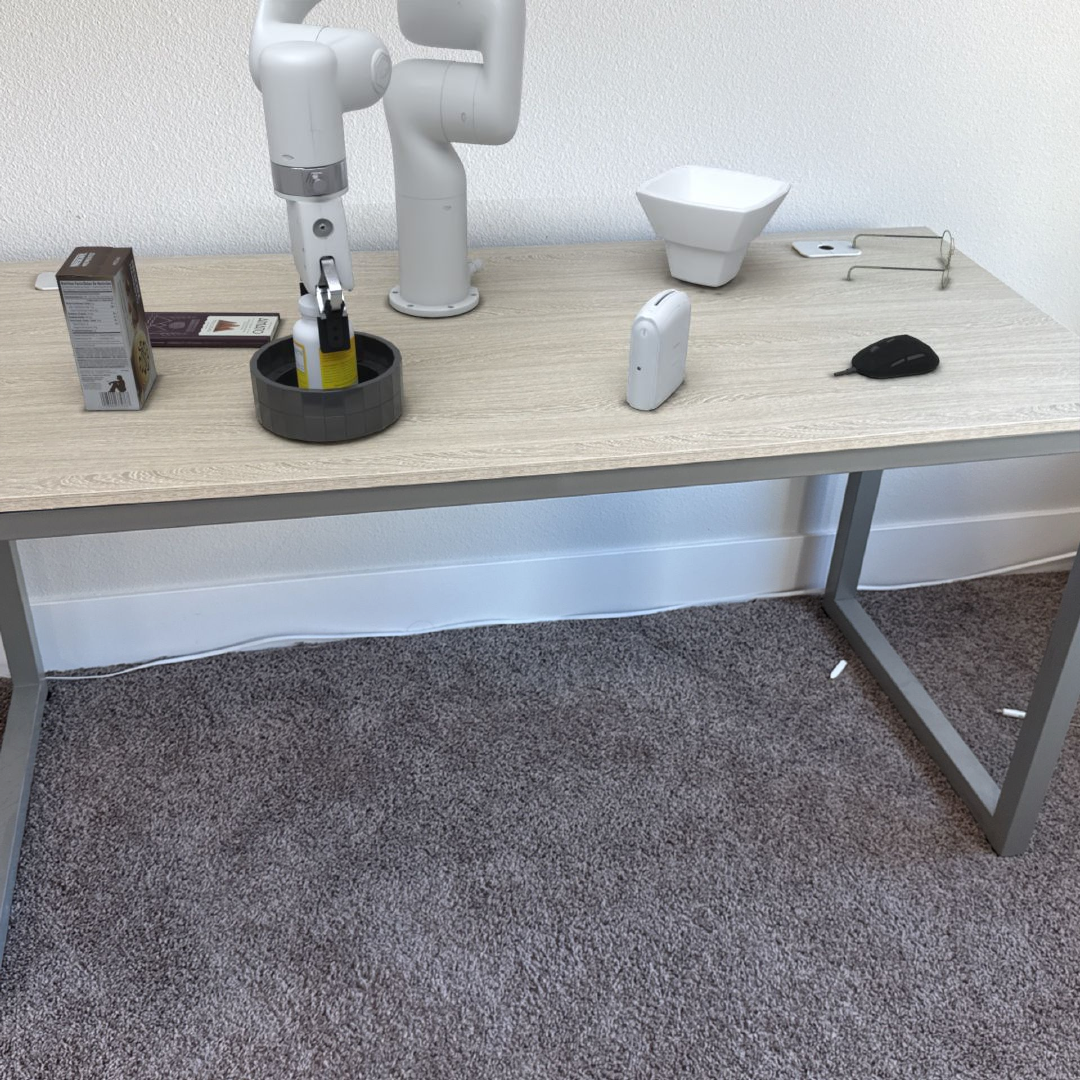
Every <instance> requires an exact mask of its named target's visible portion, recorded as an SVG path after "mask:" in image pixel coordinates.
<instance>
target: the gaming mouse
mask: <svg viewBox="0 0 1080 1080" xmlns="http://www.w3.org/2000/svg"><path fill="white" fill-rule="evenodd" d="M940 362H941V361H940V357H939V355H938V354H937V352H935V351H934V349H933V348H932V347H931V346H930V345H929V344H927V343H925V342H924V341H922V340H920V339H919V338H917V337H915V336H912V335H910V334H905V333H904V334H898V335H893V336H888V337H884V338H882V339H880V340H877V341H874V342H873V343H870V344H868V345H867V346H866V347H864V348H862V349H860V350H859V351H857V353H855V354H854V355H853V356H852V358H851V361H850V364H851V366H852V367H848V368H846V369H844V370H841V371H837V372H834V373H833V376H834V377H838V376H841V375H845V374H846V375H848V374H853V373H855V372H858V373H860V374H862V375H865V376H867V377H871V378H877V379H884V378H885V379H886V378H895V377H903V376H911V375H919V374H925V373H927V372H929V371H932V370H934V369H937V367H939V365H940Z"/></svg>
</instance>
